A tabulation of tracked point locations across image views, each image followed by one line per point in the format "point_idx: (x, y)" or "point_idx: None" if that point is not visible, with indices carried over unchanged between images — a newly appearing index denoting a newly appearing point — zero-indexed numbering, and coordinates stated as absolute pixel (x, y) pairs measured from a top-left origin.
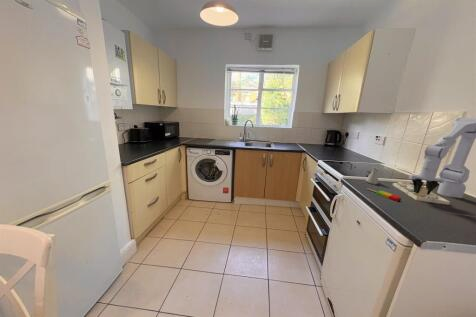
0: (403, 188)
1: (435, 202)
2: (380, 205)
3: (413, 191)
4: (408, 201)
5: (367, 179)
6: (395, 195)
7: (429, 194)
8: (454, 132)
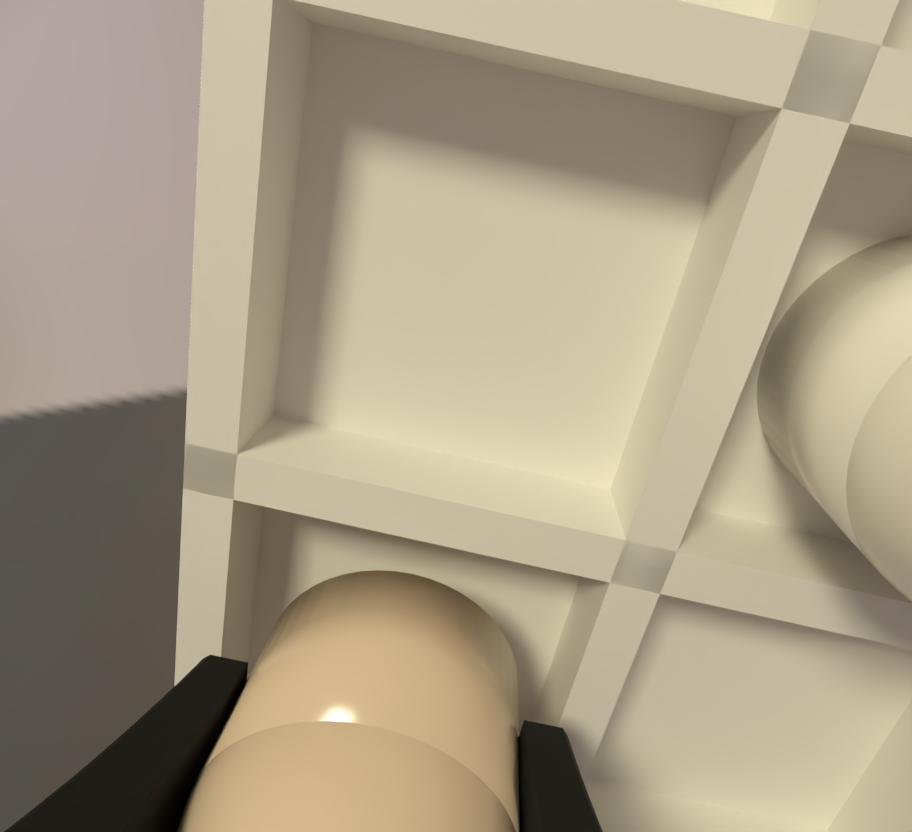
0: (238, 142)
1: None
2: None
3: (738, 131)
4: (20, 722)
5: None
6: None
7: (850, 601)
8: None
